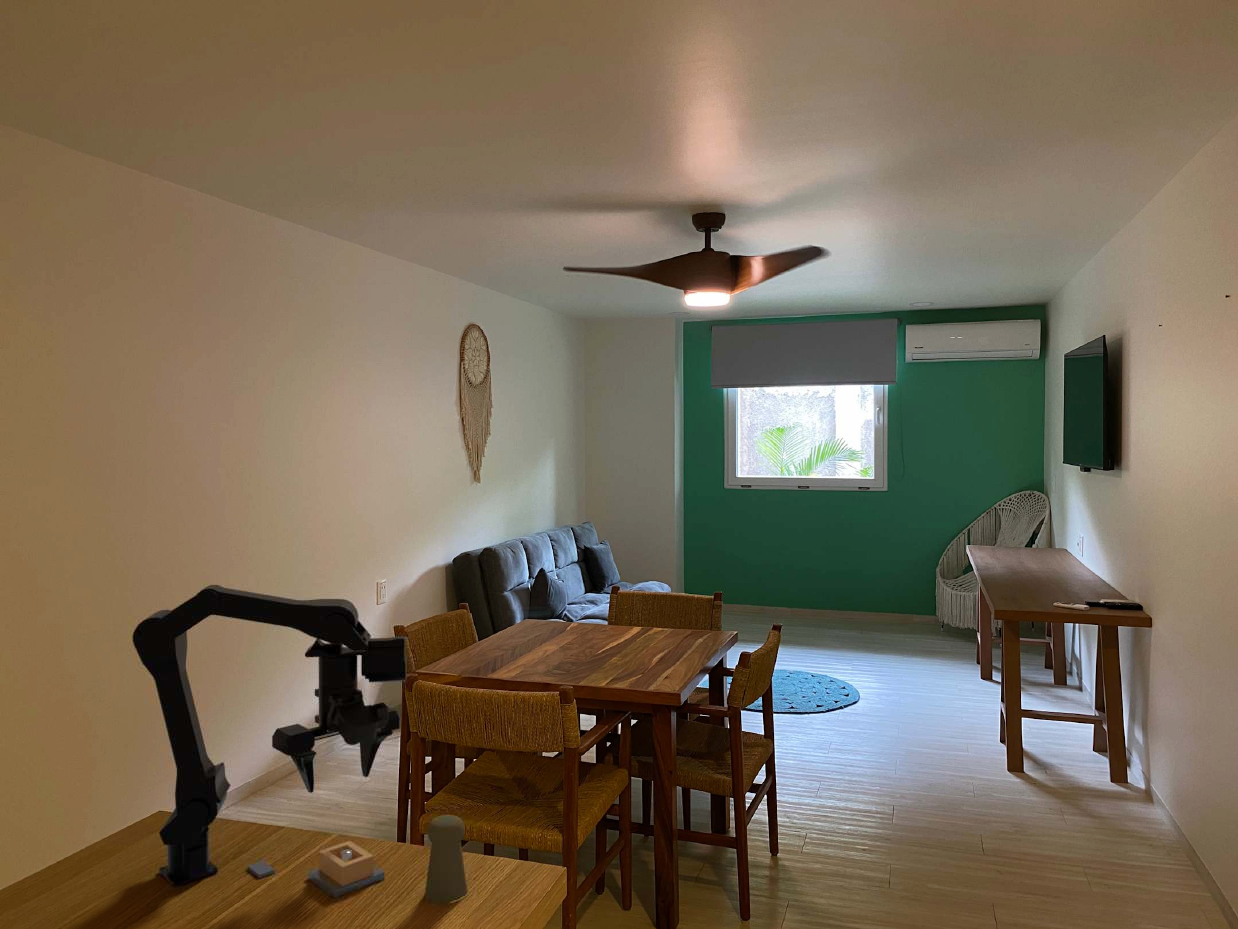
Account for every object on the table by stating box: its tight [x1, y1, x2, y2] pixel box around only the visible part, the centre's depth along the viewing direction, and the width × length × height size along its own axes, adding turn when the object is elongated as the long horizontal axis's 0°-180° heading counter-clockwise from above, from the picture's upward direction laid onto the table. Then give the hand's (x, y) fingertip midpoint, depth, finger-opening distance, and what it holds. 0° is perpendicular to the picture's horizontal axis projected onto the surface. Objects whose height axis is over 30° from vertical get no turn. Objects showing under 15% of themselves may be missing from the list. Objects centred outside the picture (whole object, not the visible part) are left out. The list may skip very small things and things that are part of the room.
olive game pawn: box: [424, 814, 468, 905], centre depth 134 cm, size 6×6×11 cm
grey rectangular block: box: [247, 860, 276, 879], centre depth 141 cm, size 4×2×1 cm, turn 45°
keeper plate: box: [307, 850, 386, 898], centre depth 139 cm, size 8×8×4 cm
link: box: [318, 840, 375, 886], centre depth 139 cm, size 7×5×3 cm
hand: (338, 784), depth 144 cm, fingers open, 9 cm apart
